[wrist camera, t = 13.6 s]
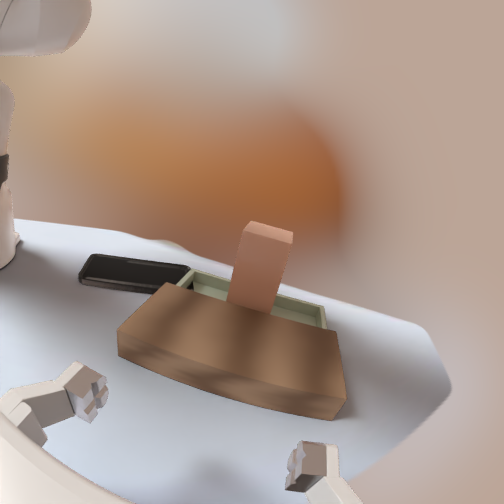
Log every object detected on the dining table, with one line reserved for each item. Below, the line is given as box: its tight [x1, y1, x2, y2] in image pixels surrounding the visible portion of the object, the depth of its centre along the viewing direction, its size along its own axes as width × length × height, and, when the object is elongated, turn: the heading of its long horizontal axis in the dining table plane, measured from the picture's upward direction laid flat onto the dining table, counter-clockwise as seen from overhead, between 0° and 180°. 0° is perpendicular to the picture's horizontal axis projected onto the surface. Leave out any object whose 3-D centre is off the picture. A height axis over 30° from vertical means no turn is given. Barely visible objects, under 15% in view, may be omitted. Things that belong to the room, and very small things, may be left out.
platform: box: [117, 282, 347, 421], centre depth 24 cm, size 19×10×3 cm, turn 81°
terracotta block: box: [226, 221, 293, 314], centre depth 31 cm, size 5×5×10 cm
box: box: [176, 268, 327, 329], centre depth 33 cm, size 18×7×2 cm, turn 81°
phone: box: [79, 254, 194, 294], centre depth 34 cm, size 8×1×15 cm
